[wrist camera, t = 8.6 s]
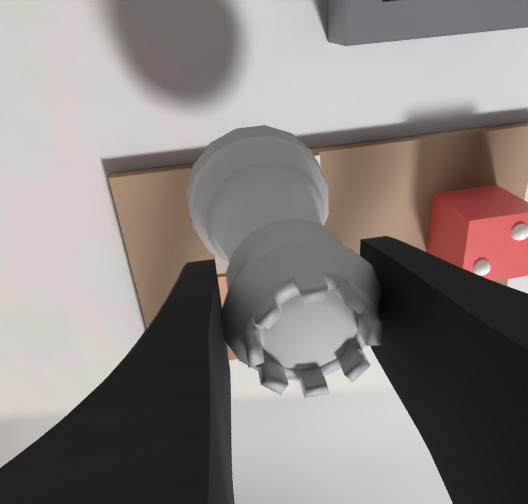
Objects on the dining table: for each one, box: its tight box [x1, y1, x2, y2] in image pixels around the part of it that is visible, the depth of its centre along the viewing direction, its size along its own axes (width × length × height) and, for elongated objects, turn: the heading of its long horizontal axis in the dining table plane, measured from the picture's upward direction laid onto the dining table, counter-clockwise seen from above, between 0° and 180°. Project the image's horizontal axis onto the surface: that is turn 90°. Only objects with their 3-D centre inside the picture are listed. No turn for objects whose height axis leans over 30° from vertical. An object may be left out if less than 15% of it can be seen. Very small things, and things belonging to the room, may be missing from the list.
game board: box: [109, 122, 528, 360], centre depth 21 cm, size 18×10×1 cm, turn 95°
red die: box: [427, 185, 528, 281], centre depth 20 cm, size 3×3×3 cm
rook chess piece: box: [186, 125, 382, 398], centre depth 12 cm, size 4×4×8 cm
